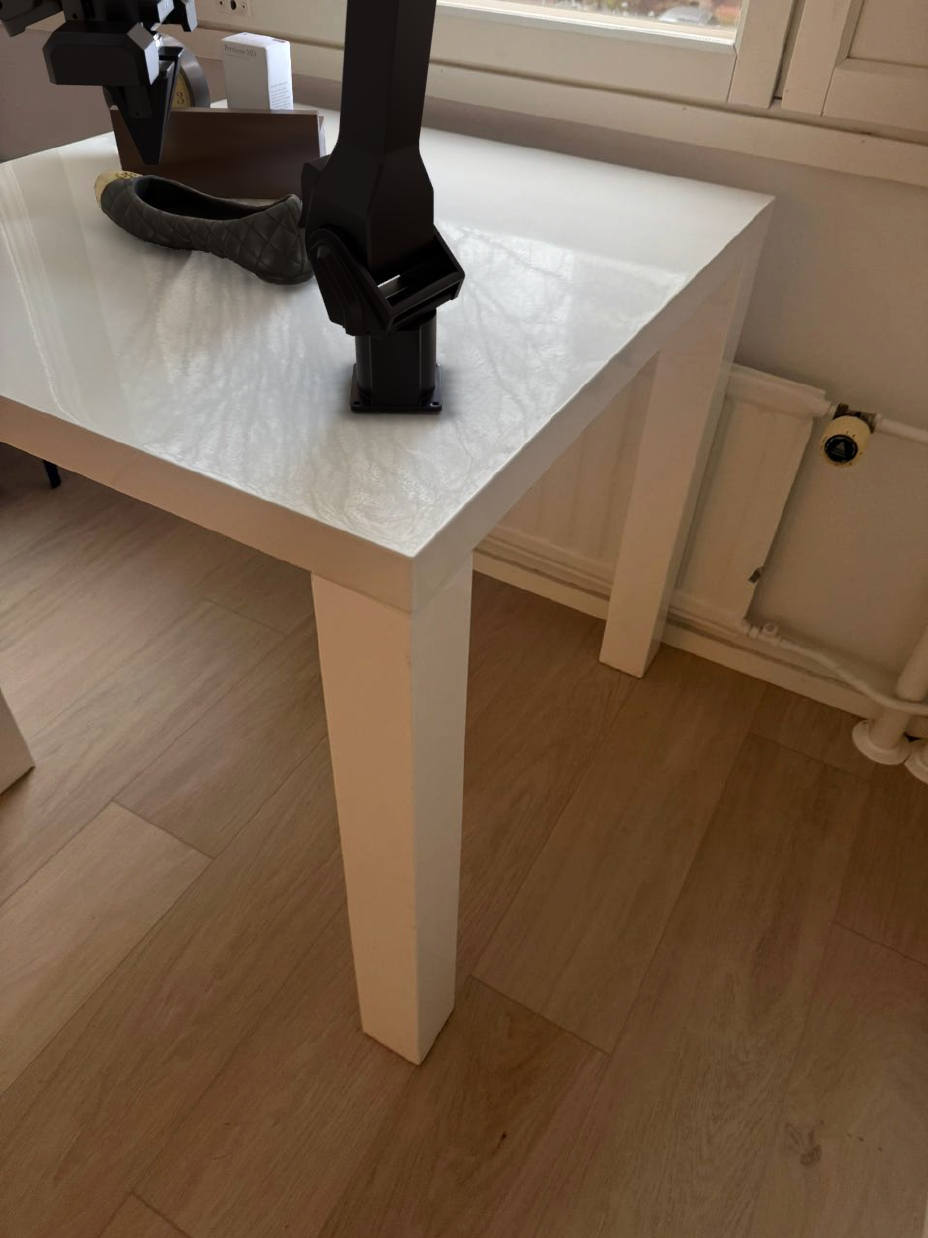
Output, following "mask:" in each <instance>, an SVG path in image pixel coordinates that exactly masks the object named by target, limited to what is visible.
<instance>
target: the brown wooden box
mask: <svg viewBox="0 0 928 1238" xmlns="http://www.w3.org/2000/svg"><path fill="white" fill-rule="evenodd" d="M108 111H110V112H109V116H110V121H111V124H112V130H113V134H114V135H113V136H114V140H115V144H116V149H117V154H118V159H119V164H120V169H121V171H128V172H133V173H135V174H139V175H142V176H148V175H153V176H158V177H160V178H165V179H168V180H173V181H176V182H179V183H181V184H183V185H185V186H188V187H190V188H193V189H195V190H198V191H199V192H201V193H204V194H207V195H210V196H213V197H216V198H221V199H226V198H227V199H275V200H280V199H282V198H285V197H286V196H287V195H290V194H294V195H296V196H297V197H298V198H299V200H302V189H301V174H302V169H303V165H304V163H306V162H309V161H312V160H314V159H317V158H320V157H323V156H325V155H327V143H326V142H327V141H326V130H325V129H326V128H325V127H326V126H325V116H324V115H320V113H319V110H317V109H293V110H282V109H240V108H228V107H210V108H198V107H172V108H171V112H170V117H169V122H168V127H167V132H166V137H165V142H164V147H163V152H162V157H161V161H160V162H159V164H158V165H146V164H144V163H143V161H142V159H141V157H140V154H139V152H138V150H137V148H136V146H135V144H134V142H133V139H132V137H131V135H130V133H129V131H128V129H127V127H126V124H125V122H124V120H123V118H122V116H121V114H120V112H119V110H118V108H117V106H115V105H113V106H112V107H111V108H110V109H108Z"/></svg>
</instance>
